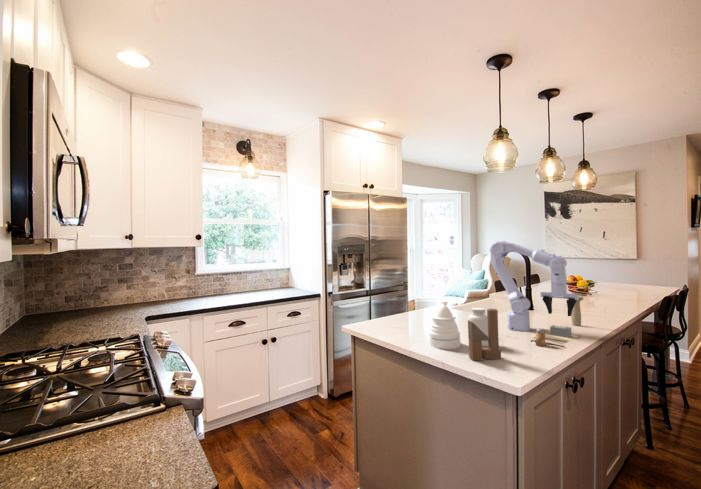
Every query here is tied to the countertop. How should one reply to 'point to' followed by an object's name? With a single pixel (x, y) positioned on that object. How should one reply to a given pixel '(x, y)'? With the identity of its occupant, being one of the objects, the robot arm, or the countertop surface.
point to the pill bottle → (480, 321)
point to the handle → (576, 313)
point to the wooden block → (478, 336)
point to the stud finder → (560, 331)
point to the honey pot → (444, 329)
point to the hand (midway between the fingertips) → (559, 314)
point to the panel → (557, 339)
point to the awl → (540, 338)
